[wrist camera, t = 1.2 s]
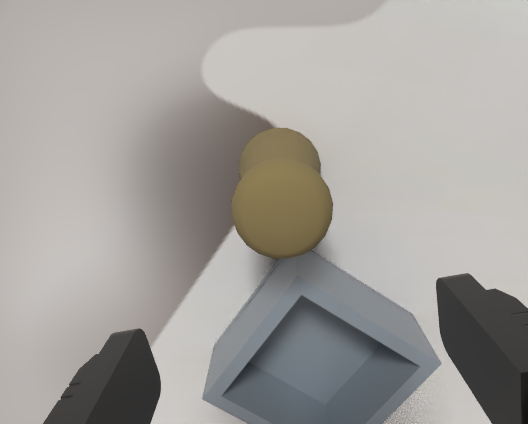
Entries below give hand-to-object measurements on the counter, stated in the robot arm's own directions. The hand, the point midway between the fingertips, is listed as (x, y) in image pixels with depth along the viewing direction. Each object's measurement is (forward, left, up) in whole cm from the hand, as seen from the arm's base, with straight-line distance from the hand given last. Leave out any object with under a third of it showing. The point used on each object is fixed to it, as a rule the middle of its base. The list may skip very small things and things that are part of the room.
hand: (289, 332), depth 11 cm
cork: (0, 0, -20) cm, 20 cm away
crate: (+10, +10, -20) cm, 24 cm away
